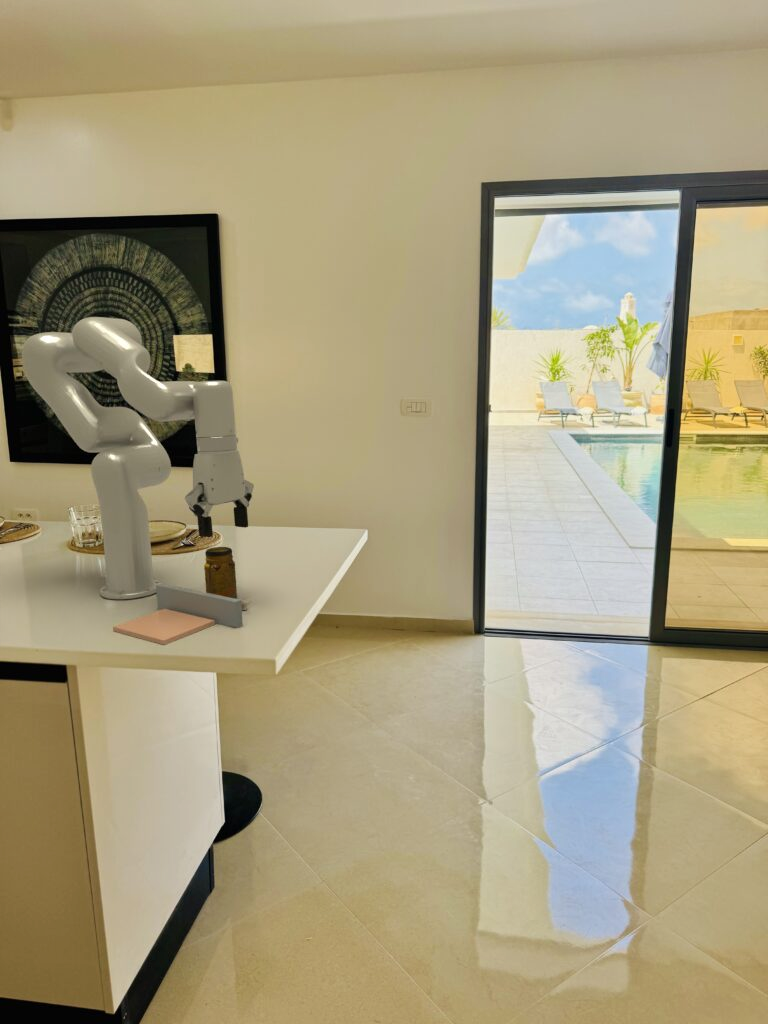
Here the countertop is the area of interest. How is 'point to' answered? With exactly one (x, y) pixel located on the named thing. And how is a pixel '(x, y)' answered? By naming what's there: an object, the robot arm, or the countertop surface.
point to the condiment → (221, 573)
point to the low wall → (200, 604)
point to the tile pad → (163, 626)
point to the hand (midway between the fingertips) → (224, 531)
